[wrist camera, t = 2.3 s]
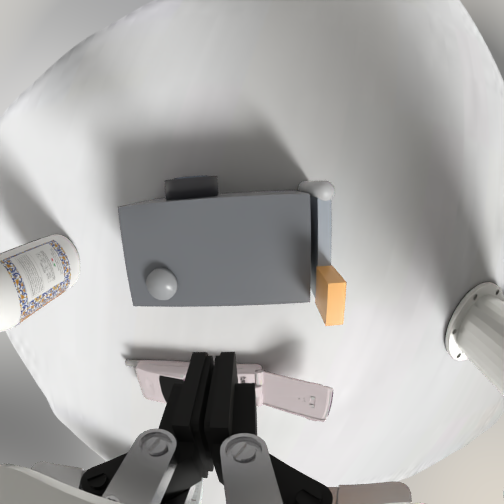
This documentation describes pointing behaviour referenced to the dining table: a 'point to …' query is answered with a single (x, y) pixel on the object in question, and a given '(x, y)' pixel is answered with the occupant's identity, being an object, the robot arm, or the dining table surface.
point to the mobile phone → (266, 383)
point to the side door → (324, 254)
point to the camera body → (217, 246)
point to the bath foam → (35, 277)
